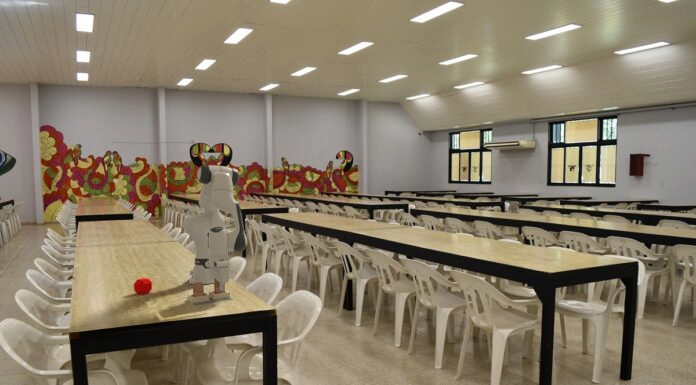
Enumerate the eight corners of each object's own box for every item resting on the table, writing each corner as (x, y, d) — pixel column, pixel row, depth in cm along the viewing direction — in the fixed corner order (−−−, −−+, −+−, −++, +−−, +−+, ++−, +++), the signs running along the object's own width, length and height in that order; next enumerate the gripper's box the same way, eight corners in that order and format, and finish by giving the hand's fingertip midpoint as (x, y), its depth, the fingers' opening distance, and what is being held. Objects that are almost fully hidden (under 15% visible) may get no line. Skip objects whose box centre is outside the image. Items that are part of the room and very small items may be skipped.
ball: (145, 291, 262) (144, 276, 262) (154, 292, 258) (154, 278, 258) (131, 294, 255) (131, 279, 255) (141, 295, 251) (141, 281, 251)
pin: (193, 300, 234) (192, 283, 234) (201, 298, 237) (201, 282, 236) (195, 301, 231) (194, 284, 231) (204, 300, 233) (203, 283, 233)
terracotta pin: (214, 294, 240) (213, 278, 239) (222, 293, 242) (221, 277, 241) (216, 296, 236) (216, 279, 236) (225, 294, 238) (224, 278, 238)
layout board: (185, 300, 239) (185, 292, 239) (222, 294, 249) (221, 287, 249) (194, 308, 224) (194, 300, 224) (233, 302, 233) (233, 294, 233)
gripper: (206, 258, 246) (207, 286, 246) (218, 264, 228) (219, 294, 229) (218, 257, 249) (219, 284, 249) (231, 263, 231) (232, 292, 232)
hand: (219, 289), depth 239 cm, fingers closed on terracotta pin, 4 cm apart
